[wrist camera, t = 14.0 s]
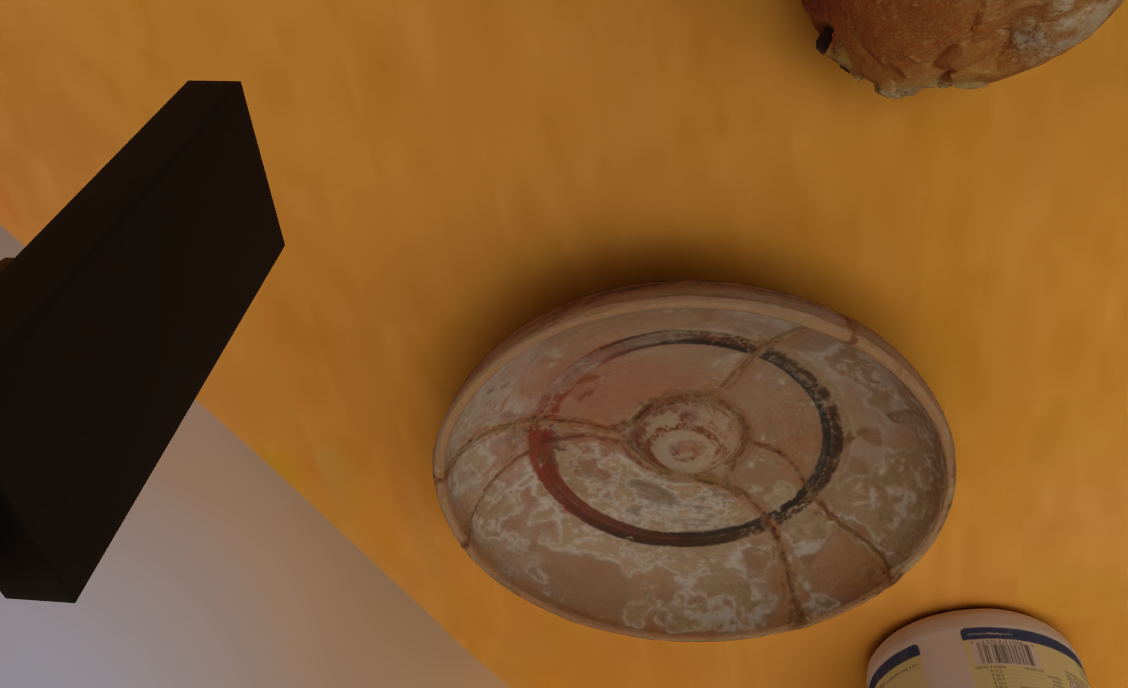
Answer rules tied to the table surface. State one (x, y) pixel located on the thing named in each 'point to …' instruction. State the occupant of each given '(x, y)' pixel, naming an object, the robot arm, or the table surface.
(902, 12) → the bread roll
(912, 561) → the ceramic bowl
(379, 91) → the table surface
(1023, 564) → the table surface
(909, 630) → the supplement tub
